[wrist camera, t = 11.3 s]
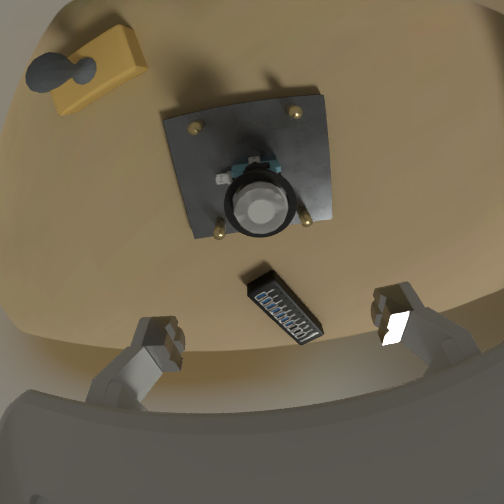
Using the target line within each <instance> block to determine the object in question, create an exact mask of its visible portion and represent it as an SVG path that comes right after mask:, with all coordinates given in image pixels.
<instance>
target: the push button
mask: <svg viewBox="0 0 504 504" xmlns="http://www.w3.org/2000/svg"><path fill="white" fill-rule="evenodd" d="M252 158H255V159H252ZM248 161H249V163H247V164H240V165H234V166H232V169H231V171H227V173H222V174H217V175H216V176H217V177H216V183H217V185H219V184H225V183H228V184H230V186H229V187H228V189H227V191H226V194H225V198H224V211H225V215H226V218H227V219H228V221H229V223H230V224H231V225H232V226H233V227H234V228H235V229H236V230H237V231H239V232H240V233H242V234H245V235H247V236H251V237H269V236H272V235H275V234H277V233H279V232H281V231H282V230H284V229H285V228H286V227H287V226H288V225H289V224H290V223H291V221H292V220H293V218H294V216H295V213H296V209H297V198H296V194H295V192H294V189H293V187H292V186H291V184H290V183H289V182H288V181H287V180H286V179H285V178H284V177H283V176H282V175H281V166H280V164H279V161H278V160H271V161H263V162H260V158H259V156H256V157H249V158H248ZM220 178H222V179H220ZM220 181H223V182H220ZM280 187H282V188H283V189H284V190H285V192H286V196H285V194H284V193H283V191H282V190H281V188H280ZM235 193H237V196H236V198H235V200H234V203H233V197H234V194H235Z"/></svg>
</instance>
